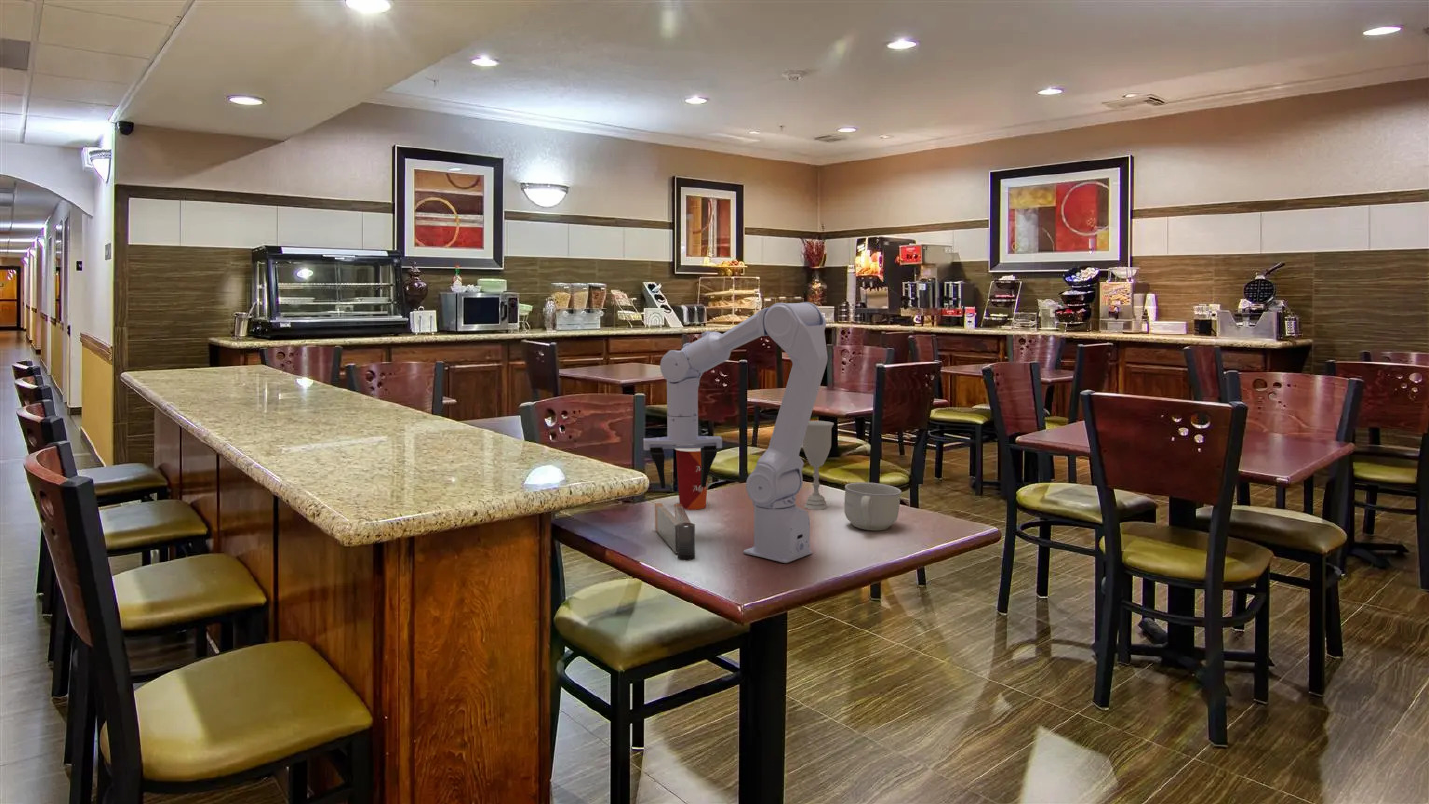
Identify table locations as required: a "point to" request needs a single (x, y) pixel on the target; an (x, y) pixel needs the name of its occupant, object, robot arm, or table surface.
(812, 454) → the chalice
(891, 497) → the teacup
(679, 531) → the tongs fixed arm
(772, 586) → the table surface
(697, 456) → the paper cup
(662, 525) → the tongs moving arm
